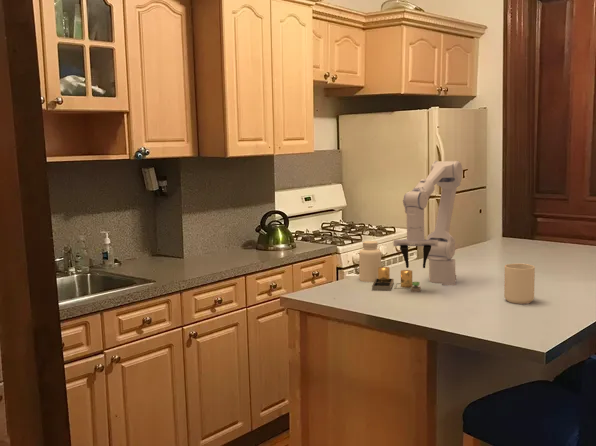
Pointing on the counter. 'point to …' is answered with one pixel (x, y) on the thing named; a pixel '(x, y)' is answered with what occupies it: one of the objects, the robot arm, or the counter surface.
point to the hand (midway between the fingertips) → (415, 267)
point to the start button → (415, 284)
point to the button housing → (415, 289)
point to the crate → (382, 285)
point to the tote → (400, 288)
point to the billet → (406, 278)
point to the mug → (519, 283)
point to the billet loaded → (383, 274)
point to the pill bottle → (369, 261)
